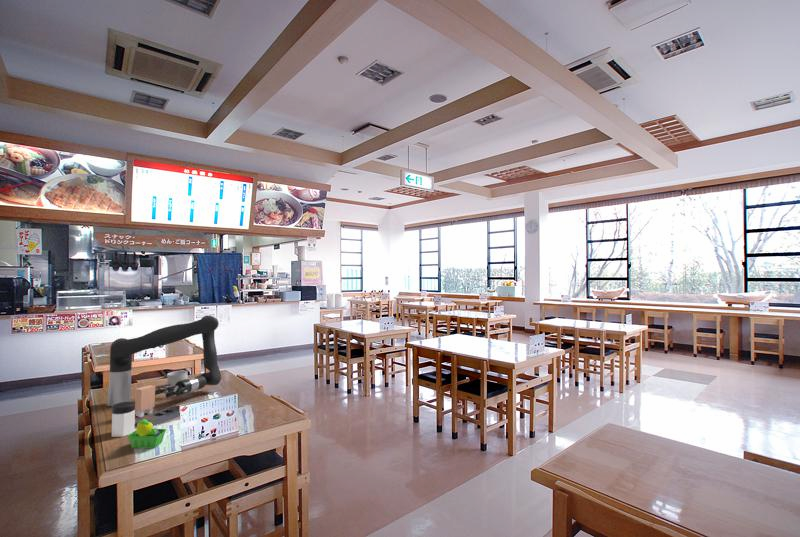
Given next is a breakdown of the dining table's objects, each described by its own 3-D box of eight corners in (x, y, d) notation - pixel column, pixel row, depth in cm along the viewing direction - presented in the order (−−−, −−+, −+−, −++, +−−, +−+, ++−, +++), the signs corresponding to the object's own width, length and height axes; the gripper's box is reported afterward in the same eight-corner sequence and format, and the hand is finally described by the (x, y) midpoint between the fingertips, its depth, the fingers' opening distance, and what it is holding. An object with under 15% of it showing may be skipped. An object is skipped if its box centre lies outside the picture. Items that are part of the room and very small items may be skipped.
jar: (139, 429, 173) (140, 401, 173) (128, 436, 165) (129, 407, 165) (117, 429, 172) (118, 401, 172) (105, 437, 164) (106, 408, 164)
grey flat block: (150, 427, 175) (150, 421, 175) (135, 424, 178) (135, 418, 178) (188, 412, 194) (188, 407, 194) (174, 410, 197) (174, 405, 197)
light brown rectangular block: (140, 417, 186) (141, 389, 186) (134, 416, 187) (135, 388, 187) (154, 413, 192) (155, 386, 193) (148, 411, 194) (149, 385, 194)
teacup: (180, 388, 233) (181, 374, 233) (162, 388, 233) (163, 374, 233) (193, 382, 247) (194, 369, 247) (176, 381, 247) (176, 368, 247)
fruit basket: (167, 441, 161) (167, 413, 161) (154, 451, 152) (155, 421, 153) (138, 441, 161) (139, 413, 161) (124, 450, 152) (124, 421, 152)
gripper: (177, 377, 215) (149, 385, 200) (197, 380, 210) (170, 388, 195) (177, 391, 215) (149, 400, 200) (197, 394, 210) (170, 403, 195)
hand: (159, 394), depth 197 cm, fingers open, 8 cm apart
